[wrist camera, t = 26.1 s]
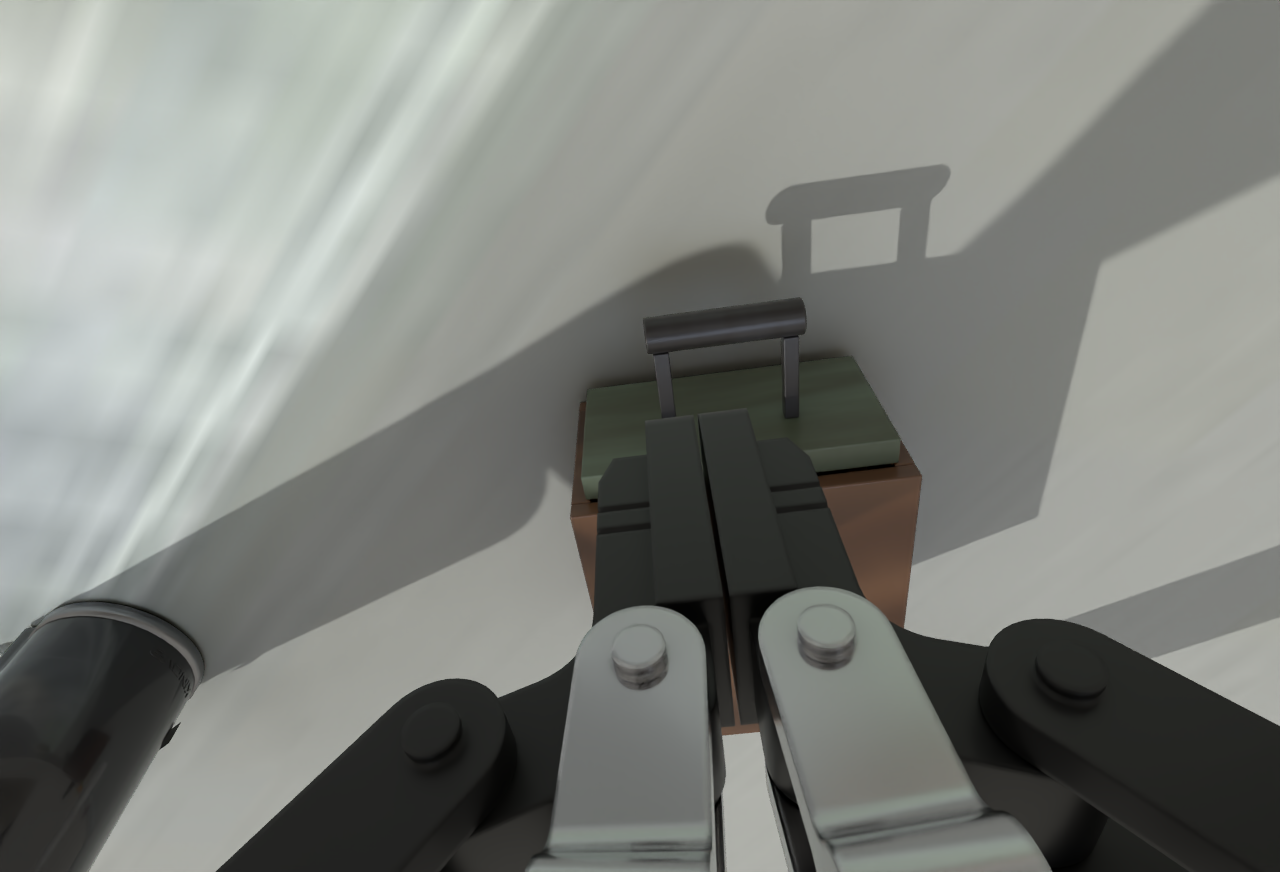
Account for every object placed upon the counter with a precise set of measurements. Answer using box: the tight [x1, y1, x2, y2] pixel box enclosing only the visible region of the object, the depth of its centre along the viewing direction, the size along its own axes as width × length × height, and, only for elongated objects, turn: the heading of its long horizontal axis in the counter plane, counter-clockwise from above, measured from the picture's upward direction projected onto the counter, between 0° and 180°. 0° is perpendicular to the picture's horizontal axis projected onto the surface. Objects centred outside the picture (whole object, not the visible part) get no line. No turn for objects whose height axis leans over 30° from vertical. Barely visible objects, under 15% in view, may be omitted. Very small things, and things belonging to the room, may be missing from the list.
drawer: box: [581, 297, 901, 500], centre depth 33 cm, size 20×12×7 cm, turn 8°
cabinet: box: [570, 402, 922, 736], centre depth 35 cm, size 16×14×9 cm
